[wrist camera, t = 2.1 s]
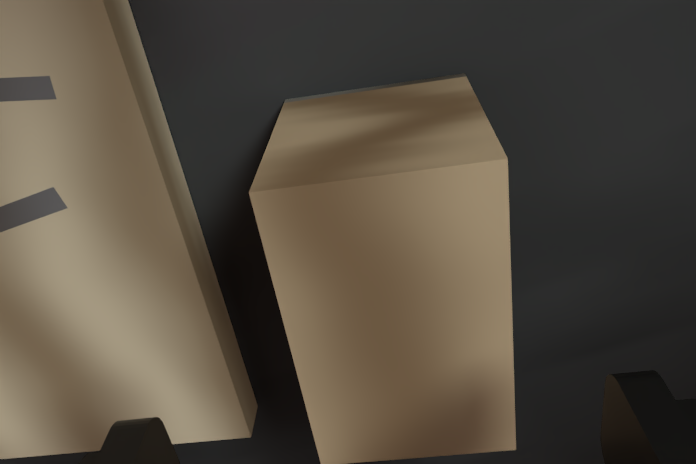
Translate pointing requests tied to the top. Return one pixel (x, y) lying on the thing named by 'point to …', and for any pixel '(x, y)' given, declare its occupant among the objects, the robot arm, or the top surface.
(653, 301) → the top surface
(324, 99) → the block
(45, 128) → the board
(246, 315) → the top surface
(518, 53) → the top surface
